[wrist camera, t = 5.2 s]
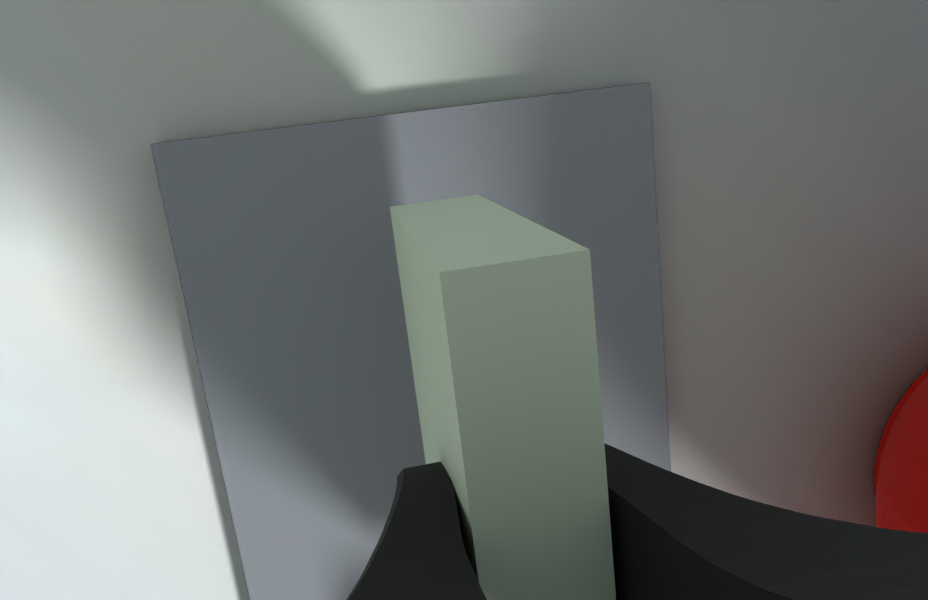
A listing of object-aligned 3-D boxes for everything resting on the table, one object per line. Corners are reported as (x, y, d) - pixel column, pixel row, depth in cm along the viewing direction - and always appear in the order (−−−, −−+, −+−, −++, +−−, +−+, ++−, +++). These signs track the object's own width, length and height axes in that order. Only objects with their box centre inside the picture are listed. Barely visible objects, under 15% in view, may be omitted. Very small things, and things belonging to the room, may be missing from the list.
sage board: (477, 194, 14) (589, 249, 8) (524, 621, 16) (638, 904, 10) (389, 206, 13) (439, 272, 8) (450, 638, 16) (524, 938, 10)
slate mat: (639, 83, 16) (649, 82, 16) (667, 571, 19) (677, 583, 19) (156, 143, 15) (150, 144, 14) (268, 660, 18) (266, 675, 17)
